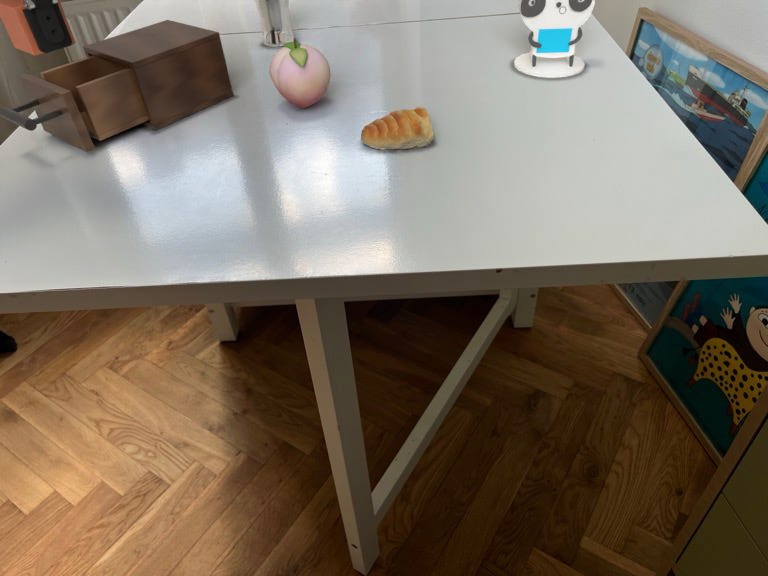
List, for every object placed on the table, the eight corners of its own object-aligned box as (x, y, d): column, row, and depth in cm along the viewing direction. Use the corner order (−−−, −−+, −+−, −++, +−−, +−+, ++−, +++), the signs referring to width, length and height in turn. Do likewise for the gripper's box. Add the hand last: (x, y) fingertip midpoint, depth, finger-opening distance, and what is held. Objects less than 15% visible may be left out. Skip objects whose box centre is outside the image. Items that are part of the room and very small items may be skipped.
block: (34, 56, 55) (13, 8, 52) (14, 47, 57) (-8, 1, 54) (76, 43, 57) (58, -4, 54) (55, 36, 59) (37, -9, 57)
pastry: (369, 158, 71) (368, 130, 68) (355, 136, 75) (353, 109, 73) (438, 144, 73) (438, 117, 70) (419, 124, 77) (419, 97, 75)
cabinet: (155, 130, 79) (132, 62, 73) (107, 110, 85) (82, 46, 79) (233, 95, 88) (219, 32, 81) (184, 80, 94) (167, 19, 87)
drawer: (51, 167, 71) (22, 108, 65) (10, 144, 76) (-20, 88, 71) (171, 114, 81) (154, 60, 76) (127, 98, 87) (109, 46, 81)
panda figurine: (512, 77, 89) (523, -28, 79) (508, 53, 97) (518, -45, 87) (589, 77, 87) (611, -30, 77) (578, 52, 96) (596, -47, 86)
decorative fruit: (344, 111, 82) (337, 41, 75) (292, 125, 79) (281, 53, 72) (318, 91, 88) (310, 24, 81) (269, 103, 85) (257, 34, 78)
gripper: (-142, -186, 47) (-28, 40, 59) (-64, -191, 39) (49, 72, 51) (-48, -189, 51) (40, 21, 63) (40, -195, 43) (122, 48, 55)
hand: (44, 42), depth 57 cm, fingers closed on block, 4 cm apart
